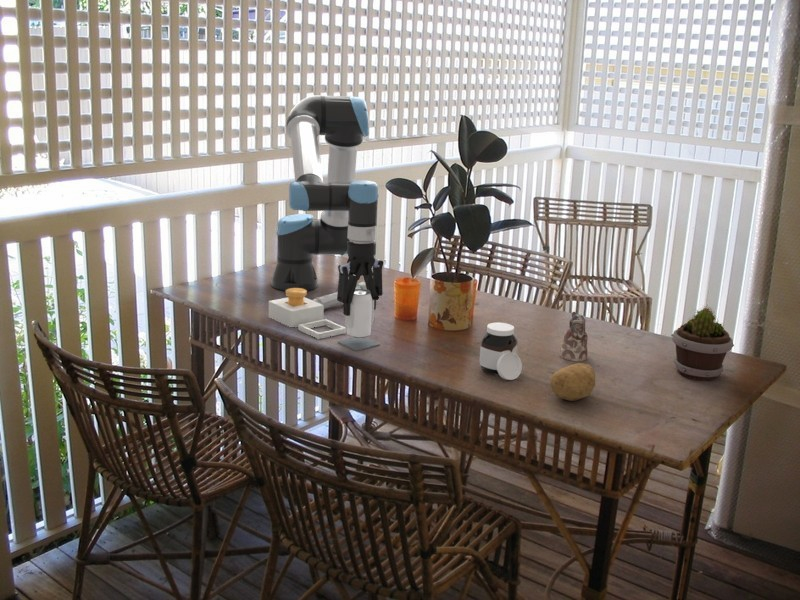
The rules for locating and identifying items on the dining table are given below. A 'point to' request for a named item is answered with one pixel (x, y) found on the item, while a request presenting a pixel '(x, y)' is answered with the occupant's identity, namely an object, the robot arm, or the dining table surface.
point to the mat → (358, 343)
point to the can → (361, 314)
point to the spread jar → (500, 351)
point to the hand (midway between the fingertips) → (359, 324)
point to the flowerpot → (701, 346)
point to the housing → (303, 317)
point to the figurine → (575, 340)
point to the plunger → (296, 296)
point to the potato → (573, 381)
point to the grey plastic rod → (334, 297)
